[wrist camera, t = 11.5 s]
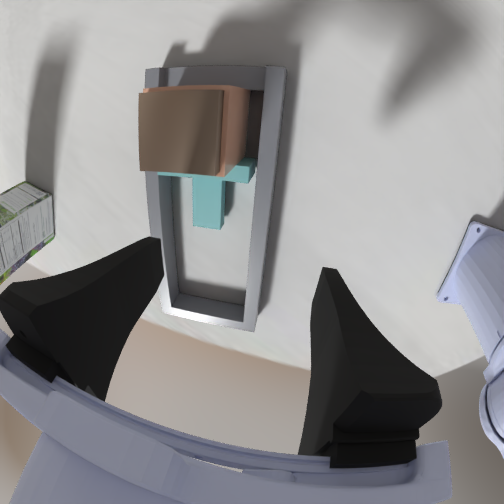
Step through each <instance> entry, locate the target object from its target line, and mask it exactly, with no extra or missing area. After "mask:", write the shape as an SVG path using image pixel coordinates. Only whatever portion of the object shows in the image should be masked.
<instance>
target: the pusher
mask: <svg viewBox="0 0 504 504" xmlns="http://www.w3.org/2000/svg"><path fill="white" fill-rule="evenodd" d="M255 165H256V158H248V157H244V158H243V159H242V160H241V161H240V162H239V163H238V164H237V165H236V166H235V167H234V168H233V169H232V170H231V171H230V172H229V173H228V174H227V175H226V176H225V177H218V176H208V175H197V174H184V173H170V172H158V175H165V176H179V177H191V178H193V226H197V227H204V228H211V229H218V230H220V229H221V228H222V226H223V224H224V208H225V185H226V181H232V182H240V183H249V181H250V180H251V178H252V176H253V175H254V173H255Z"/></svg>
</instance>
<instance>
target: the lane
mask: <svg viewBox="0 0 504 504" xmlns="http://www.w3.org/2000/svg"><path fill="white" fill-rule="evenodd" d="M286 74H287V71H286V68H285V67H279V66H268V65H267V67H257V66H229V65H216V66H188V67H175V68H151V69H146V72H145V88H155V87H168V86H186V85H231V86H236V87H240V88H244V89H248V90H256V91H264V99H263V110H262V120H261V131H260V142H259V153H258V164H257V175H256V186H255V197H254V208H253V219H252V231H251V242H250V253H249V264H248V275H247V287H246V298H245V306H242V305H236V304H231V303H226V302H221V301H215V300H210V299H205V298H201V297H196V296H191V295H186V294H182V293H179V285H178V276H177V265H176V254H175V242H174V228H173V211H172V188H171V176H165V175H158V172H153V171H145V175H146V191H147V203H148V214H149V224H150V233H151V237H155V238H160V239H161V248H162V257H163V266H164V277H163V279H162V281H161V284H160V286H159V288H158V289H159V295H160V301H161V306H162V311H163V313H167V314H171V315H175V316H179V317H183V318H187V319H192V320H196V321H200V322H205V323H210V324H214V325H219V326H224V327H229V328H234V329H239V330H244V331H250V332H254V331H255V326H256V322H257V317H258V311H259V303H260V296H261V288H262V281H263V273H264V266H265V258H266V250H267V242H268V234H269V226H270V218H271V210H272V201H273V193H274V185H275V176H276V167H277V159H278V150H279V141H280V132H281V122H282V113H283V104H284V94H285V84H286Z"/></svg>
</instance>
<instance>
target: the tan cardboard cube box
mask: <svg viewBox="0 0 504 504" xmlns="http://www.w3.org/2000/svg"><path fill="white" fill-rule="evenodd" d="M250 92H251V90H248V89H244V88H240V87H236V86H231V85H186V86H168V87H155V88H145V89H143V93H139V117H138V121H139V161H140V171H153V172H170V173H184V174H197V175H208V176H218V177H225V176H226V175H227V174H228V173H229V172H230V171H231V170H232V169H233V168H234V167H235V166H236V165H237V164H238V163H239V162H240V161H241V160H242V159H243V158H244V157H245V153H246V140H247V127H248V115H249V103H250Z"/></svg>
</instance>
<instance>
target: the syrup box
mask: <svg viewBox="0 0 504 504" xmlns="http://www.w3.org/2000/svg"><path fill="white" fill-rule="evenodd" d="M53 239H54V224H53V208H52V195H51V194H49V193H47V192H45V191H43V190H41V189H39V188H37V187H35V186H33V185H31V184H29V183H28V182H25V181H24V182H22V183H20V184H18V185H16V186H14V187H12V188H10V189H8V190H6V191H5V192H3V193H1V194H0V285H1V284H2V283H3V282H4V281H5V280H6V279H7V278H8V277H9V276H10V275H11V274H12V273H13V272H15V271H16V270H17V269H18V268H19V267H20V266H21V265H22V264H24V263H25V262H26V261H27V260H28V259H29V258H31V257H32V256H33V255H34V254H36V253H37V252H38V251H39V250H41V249H42V248H43V247H44V246H45V245H47V244H48V243H49V242H51V241H52V240H53Z"/></svg>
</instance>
